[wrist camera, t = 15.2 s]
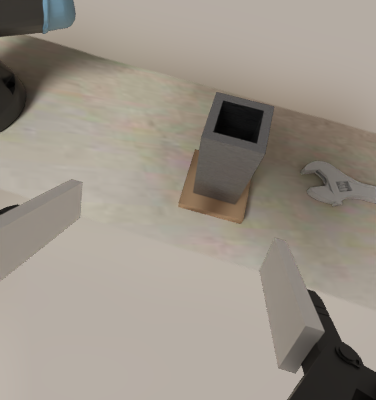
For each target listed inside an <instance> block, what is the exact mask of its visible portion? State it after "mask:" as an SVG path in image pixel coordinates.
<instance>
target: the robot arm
mask: <svg viewBox="0 0 376 400" xmlns="http://www.w3.org/2000/svg"><path fill="white" fill-rule="evenodd" d="M74 20H75V7H74V2H73V0H0V37H4V36H14V35H24V34H33V33H43V34H45V33H47V32H48V31H51V30H57V29H63V28H68V27H69V26H71V25H72V24H73V22H74ZM25 101H26V92H25V88H24V86H23V84H22V83H21V81H20V80H19V79H18V77H17V76H16V74H15V73H14V72H13V71H12V70H11V69H10V68H9V67H8V66H7V65H5V64H4V63H3V62H2V61H0V131H2V130H3V129H5V128H6V127H8V126H9V125H10V124H11V123H12V122H13V121H14V120H15V119H16V118H17V117H18V116H19V114H20V113H21V111H22V110H23V107H24V105H25ZM81 197H82V182H80V181H76V180H73V179H71V180H69V181H67V182H65V183H63V184H61V185H59V186H57V187H55V188H53V189H51V190H49V191H47V192H45V193H43V194H41V195H39V196H37V197H35V198H33V199H31V200H29V201H27V202H26V203H24V204H21V205H13V206H9V207H6V208H3V209H1V210H0V281H1V280H3V279H4V278H5V277H6V276H8V275H9V274H10V273H11V272H12V271H14V270H15V269H16V268H18V267H19V266H20V265H21V264H22V263H24V262H25V261H26V260H28V259H29V258H30V257H31V256H33V255H34V254H35V253H36V252H38V251H39V250H40V249H41V248H43V247H44V246H45V245H46V244H48V243H49V242H50V241H51V240H53V239H54V238H55V237H57V236H58V235H59V234H60V233H62V232H63V231H64V230H65V229H67V228H68V227H69V226H70V225H72V224H73V223H74V222H75V221H76V220H78V219H79V218H80V212H81ZM259 271H260V276H261V281H262V286H263V291H264V296H265V302H266V307H267V312H268V317H269V322H270V328H271V333H272V338H273V343H274V348H275V353H276V359H277V364H278V368H279V369H282V370H286V371H289V372H292V373H296V372H297V371H298V369H299V368H300V366H301V365H302V368H303V372H304V376H303V378H302V379H301V380H300V382H299V383H298V384H297V386H296V387H295V389H294V391H293V392H292V394H291V395H290V396H289V398H288V399H287V400H376V372H374V371H373V370H371V369H369V368H367V367H366V366H364V365H363V362H362V360H361V358H360V357H359V355H358V354H357V353H356V352H355V351H354V350H353V349H352V348H351V347H350V346H348V345H347V344H345V343H344V342H342V341H341V339H340V336H339V334H338V332H337V331H336V328H335V326H334V324H333V322H332V320H331V318H330V317H329V313H328V311H327V310H326V307H325V305H324V303H323V301H322V299H320V297H319V296H318V295H317V294H316V292H315V291H311V290H308V289H307V288H306V286H305V284H304V281H303V279H302V277H301V274H300V272H299V270H298V267H297V265H296V263H295V260H294V258H293V256H292V253H291V251H290V249H289V246H288V244H287V241H285V240H281V239H278V238H274V240H273V242H272V244H271V246H270V249H269V251H268V253H267V255H266V257H265V259H264V262H263V264H262V266H261V268H260V270H259Z"/></svg>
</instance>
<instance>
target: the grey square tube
mask: <svg viewBox="0 0 376 400" xmlns="http://www.w3.org/2000/svg"><path fill="white" fill-rule="evenodd" d="M273 110H274V106H270V105H266V104H262V103H258V102H254V101H250V100H246V99H242V98H238V97H234V96H230V95H226V94H222V93H218V92H216V95H215V98H214V101H213V104H212V107H211V110H210V113H209V116H208V119H207V122H206V125H205V128H204V131H203V134H202V137H201V143H200V149H199V156H198V163H197V169H196V176H195V182H194V189H193V193H195V194H199V195H202V196H206V197H209V198H213V199H216V200H220V201H224V202H227V203H231V204H234V205H235V204H236V203H237V201H238V199H239V198H240V196H241V194H242V192H243V191H244V189H245V187H246V186H247V184H248V182H249V181H250V179H251V177H252V175H253V174H254V172H255V170H256V169H257V167H258V165H259V164H260V162H261V160H262V158H263V157H264V155H265V152H266V147H267V142H268V136H269V131H270V126H271V121H272V115H273Z"/></svg>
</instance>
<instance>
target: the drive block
mask: <svg viewBox="0 0 376 400" xmlns="http://www.w3.org/2000/svg"><path fill="white" fill-rule="evenodd" d="M198 156H199V150H196V149H195V152H194V155H193V158H192V161H191V165H190V168H189V171H188V174H187V178H186V181H185V184H184V187H183V190H182V194H181V197H180V200H179V205H178V207H181V208H185V209H188V210H192V211H196V212H199V213H203V214H207V215H210V216H214V217H217V218H221V219H225V220H228V221H232V222H236V223H239V224H241V223H242V221H243V219H244V214H245V209H246V203H247V198H248V193H249V188H250V182H251V179H250V181H249V182H248V184H247V186H246V187H245V189H244V191H243V192H242V194H241V196H240V198H239V199H238V201H237V203H236V204H235V205H234V204H231V203H227V202H224V201H220V200H216V199H213V198H209V197H206V196H202V195H199V194H195V193H193V189H194V182H195V176H196V169H197V163H198Z"/></svg>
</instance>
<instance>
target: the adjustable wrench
mask: <svg viewBox="0 0 376 400" xmlns="http://www.w3.org/2000/svg"><path fill="white" fill-rule="evenodd" d="M310 173H315V174H316V175H317V176H319V177H320V178H321V179H322V180H323V183H324V186H318V187H311V188H309V189H308V190H307V194H309V195H310V196H311V197H313V198H314V199H316V200H318V201H320V202H324V203H329V204H332V206H336V205H342V204H343V202H342V200H344V199H348V198H355V199H360V200H364V201H368V202H371V203H375V204H376V186H372V185H368V184H364V183H361V182H358V181H356V180H354V179H352V178H351V177H349V176H347V175H346V174H344V173H343V172H341V171H340V170H338V169H337V168H335V167H334V166H333V165H331V164H329V163H327V162H324V161H313V162H311V163H309V164H307V165H306V166H305V167H304V168H303V169H302V171H301V174H310Z"/></svg>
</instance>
